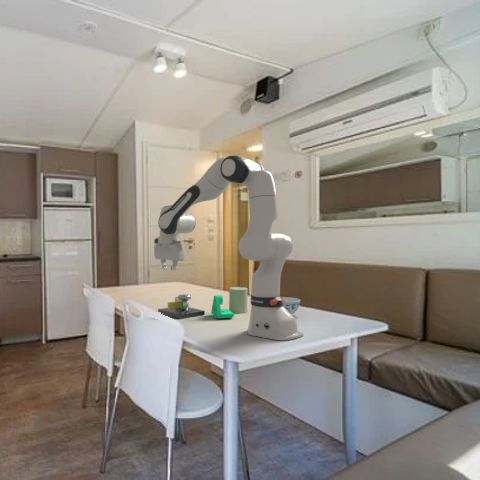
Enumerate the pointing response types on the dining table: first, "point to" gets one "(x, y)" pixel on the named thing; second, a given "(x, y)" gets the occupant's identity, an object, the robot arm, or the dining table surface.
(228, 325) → the dining table surface
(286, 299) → the chinaware
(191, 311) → the base
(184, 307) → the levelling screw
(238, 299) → the can
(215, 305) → the camera mount
